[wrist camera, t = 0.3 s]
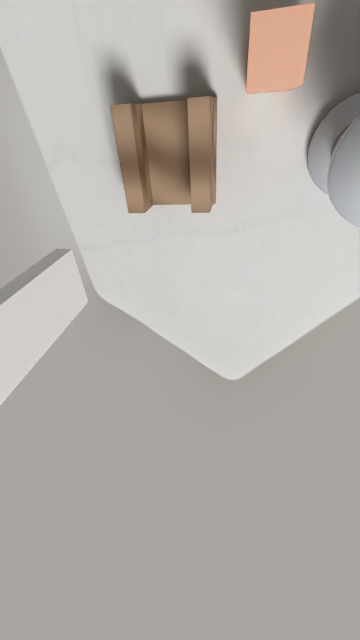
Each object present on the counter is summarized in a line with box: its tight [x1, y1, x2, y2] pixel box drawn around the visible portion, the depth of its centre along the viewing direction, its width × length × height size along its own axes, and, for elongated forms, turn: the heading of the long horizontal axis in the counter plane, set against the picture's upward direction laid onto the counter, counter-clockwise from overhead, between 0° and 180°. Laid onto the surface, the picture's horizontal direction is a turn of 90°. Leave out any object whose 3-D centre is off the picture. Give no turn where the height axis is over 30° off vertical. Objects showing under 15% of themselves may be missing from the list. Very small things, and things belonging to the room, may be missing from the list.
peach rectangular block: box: [246, 3, 315, 94], centre depth 22 cm, size 4×4×8 cm
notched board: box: [110, 96, 217, 213], centre depth 30 cm, size 10×10×4 cm
